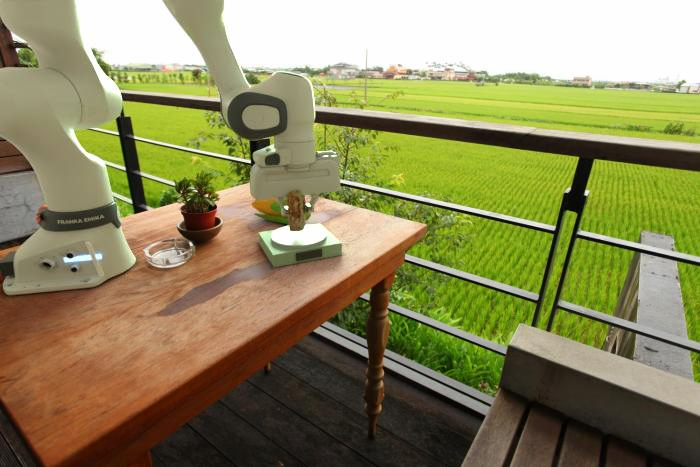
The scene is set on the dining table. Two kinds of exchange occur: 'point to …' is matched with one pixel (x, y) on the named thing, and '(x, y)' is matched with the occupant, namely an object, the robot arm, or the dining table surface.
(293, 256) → the scale
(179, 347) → the dining table surface
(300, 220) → the stone disc
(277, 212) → the corn
